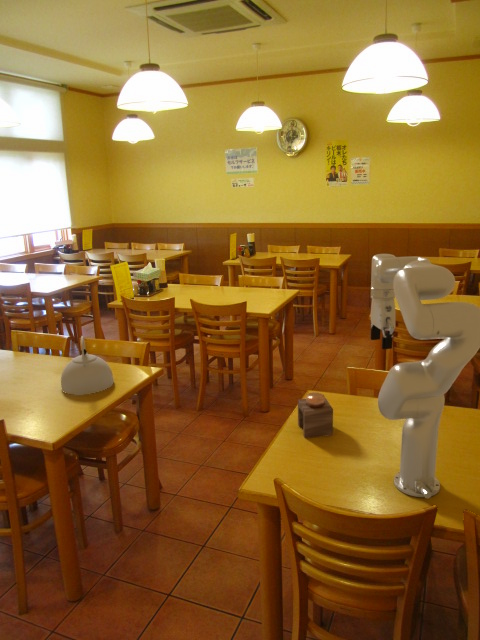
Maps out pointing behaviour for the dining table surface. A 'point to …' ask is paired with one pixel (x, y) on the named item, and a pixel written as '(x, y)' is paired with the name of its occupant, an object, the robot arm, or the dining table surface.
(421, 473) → the robot arm
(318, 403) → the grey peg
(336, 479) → the dining table surface
